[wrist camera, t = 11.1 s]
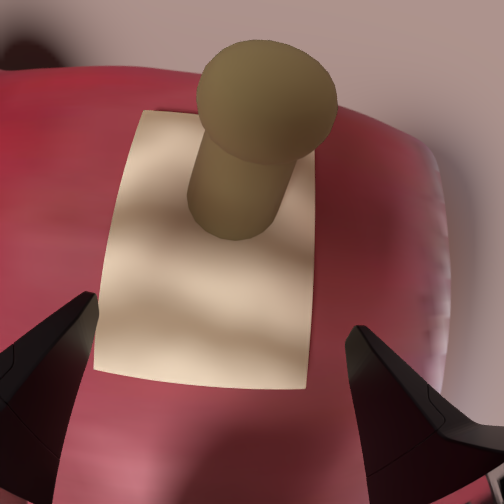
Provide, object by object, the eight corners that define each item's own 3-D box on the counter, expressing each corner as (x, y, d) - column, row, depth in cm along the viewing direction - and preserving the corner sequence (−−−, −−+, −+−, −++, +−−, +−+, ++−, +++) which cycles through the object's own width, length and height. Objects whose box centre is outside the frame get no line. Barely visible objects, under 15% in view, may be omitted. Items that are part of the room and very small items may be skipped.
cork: (260, 146, 20) (313, 21, 9) (293, 224, 19) (392, 128, 8) (175, 167, 18) (169, 29, 8) (203, 253, 18) (218, 157, 7)
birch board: (297, 384, 18) (305, 389, 17) (100, 365, 16) (93, 369, 15) (307, 145, 22) (313, 135, 21) (145, 121, 20) (143, 110, 19)
